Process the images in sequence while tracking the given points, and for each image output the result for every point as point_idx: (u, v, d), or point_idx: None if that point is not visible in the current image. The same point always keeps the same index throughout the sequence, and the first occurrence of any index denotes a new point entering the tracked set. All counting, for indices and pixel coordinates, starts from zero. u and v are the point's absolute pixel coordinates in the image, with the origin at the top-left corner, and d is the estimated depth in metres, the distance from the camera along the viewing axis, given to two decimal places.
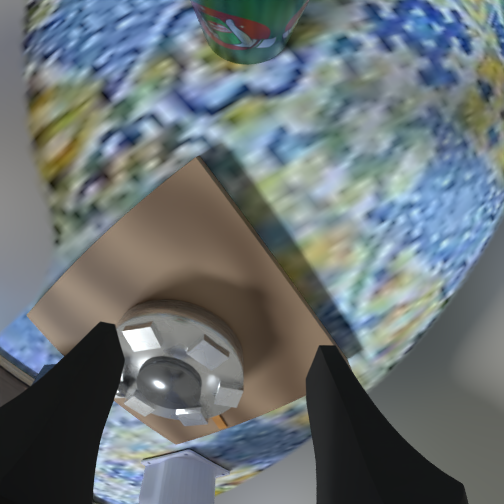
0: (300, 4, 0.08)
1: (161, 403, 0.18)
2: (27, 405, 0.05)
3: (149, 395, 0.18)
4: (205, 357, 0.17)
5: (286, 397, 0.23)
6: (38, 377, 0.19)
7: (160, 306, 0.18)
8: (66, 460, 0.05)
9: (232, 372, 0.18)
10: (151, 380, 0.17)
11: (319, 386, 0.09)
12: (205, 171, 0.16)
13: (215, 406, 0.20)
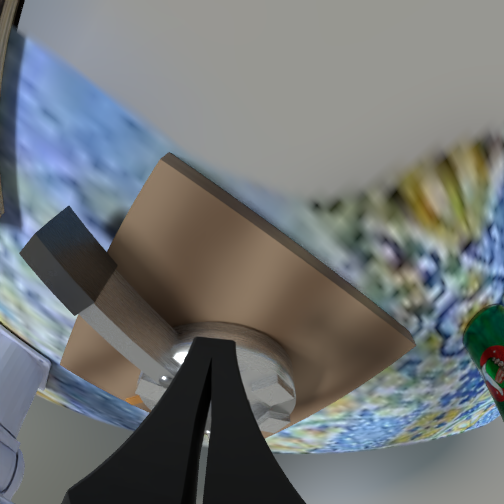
0: None
1: None
2: (152, 445, 0.05)
3: None
4: (269, 425, 0.17)
5: None
6: (53, 228, 0.11)
7: (291, 369, 0.17)
8: (191, 492, 0.05)
9: None
10: None
11: (211, 381, 0.09)
12: (405, 352, 0.19)
13: None
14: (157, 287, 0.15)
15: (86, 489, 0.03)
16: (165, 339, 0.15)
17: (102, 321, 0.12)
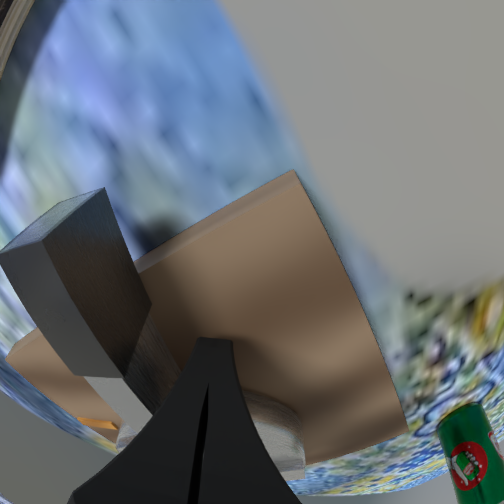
0: (456, 496, 0.13)
1: None
2: (157, 445, 0.05)
3: None
4: None
5: None
6: (76, 230, 0.06)
7: None
8: (195, 493, 0.05)
9: None
10: None
11: None
12: (396, 435, 0.17)
13: None
14: (192, 340, 0.11)
15: (91, 491, 0.03)
16: None
17: (122, 395, 0.07)
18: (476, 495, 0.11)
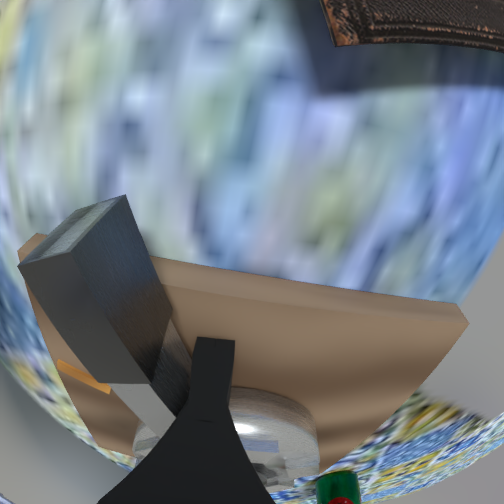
0: None
1: None
2: (182, 449, 0.05)
3: None
4: (271, 488, 0.14)
5: (92, 422, 0.16)
6: (101, 239, 0.06)
7: None
8: None
9: None
10: None
11: None
12: None
13: None
14: (336, 369, 0.12)
15: (118, 499, 0.03)
16: None
17: (147, 400, 0.07)
18: None
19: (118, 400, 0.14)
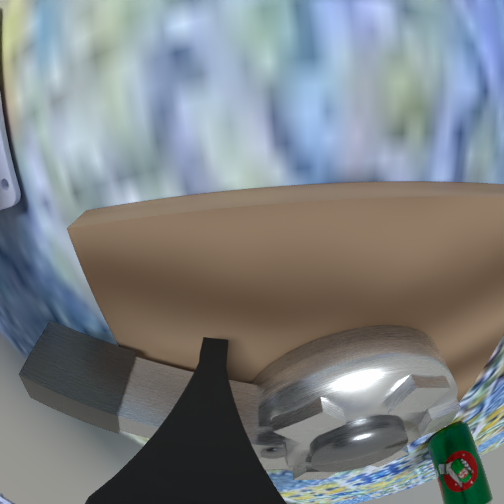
0: (444, 499, 0.16)
1: (322, 467, 0.10)
2: (172, 448, 0.05)
3: (324, 461, 0.10)
4: (436, 424, 0.10)
5: None
6: (38, 356, 0.08)
7: (431, 346, 0.10)
8: None
9: (417, 434, 0.12)
10: (361, 448, 0.09)
11: None
12: None
13: None
14: (455, 276, 0.10)
15: (107, 496, 0.03)
16: (243, 405, 0.10)
17: (145, 428, 0.09)
18: (469, 495, 0.13)
19: None
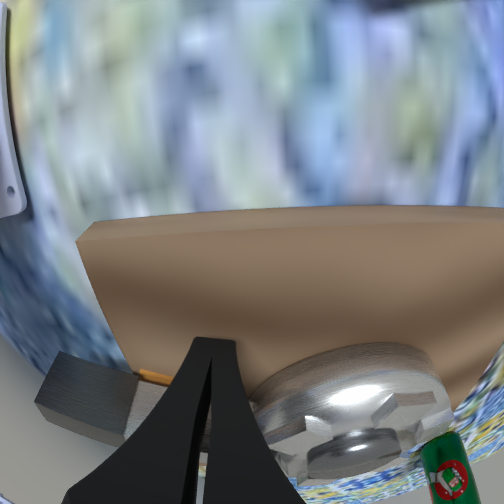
0: None
1: (320, 476, 0.11)
2: (152, 444, 0.05)
3: (319, 471, 0.10)
4: (431, 433, 0.10)
5: None
6: (50, 384, 0.09)
7: (420, 360, 0.10)
8: (191, 492, 0.05)
9: None
10: (352, 459, 0.10)
11: (211, 381, 0.09)
12: None
13: None
14: (454, 297, 0.10)
15: (86, 489, 0.03)
16: None
17: None
18: None
19: None
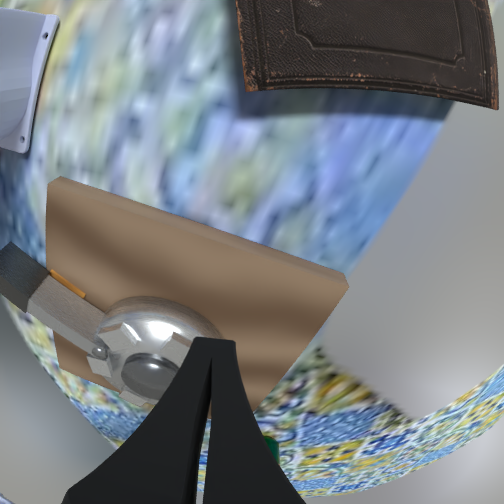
0: None
1: (129, 383, 0.18)
2: (152, 444, 0.05)
3: (127, 375, 0.18)
4: None
5: (60, 336, 0.21)
6: None
7: (206, 328, 0.19)
8: (191, 492, 0.05)
9: None
10: (147, 373, 0.17)
11: (211, 381, 0.09)
12: None
13: None
14: (240, 298, 0.19)
15: (86, 489, 0.03)
16: (92, 319, 0.18)
17: (39, 311, 0.15)
18: None
19: None
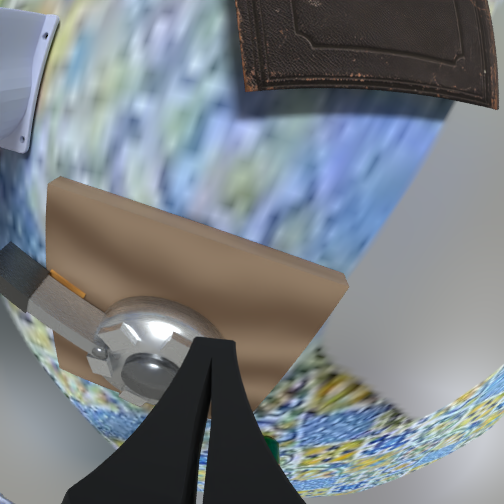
0: None
1: (129, 383, 0.18)
2: (152, 444, 0.05)
3: (127, 375, 0.18)
4: None
5: (60, 336, 0.21)
6: None
7: (206, 328, 0.19)
8: (191, 492, 0.05)
9: None
10: (147, 373, 0.17)
11: (211, 381, 0.09)
12: None
13: None
14: (240, 298, 0.19)
15: (86, 489, 0.03)
16: (92, 319, 0.18)
17: (39, 311, 0.15)
18: None
19: None
